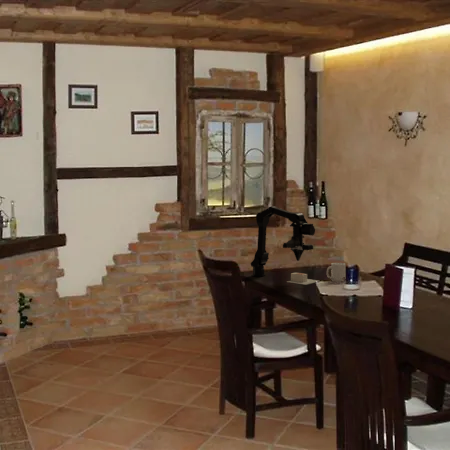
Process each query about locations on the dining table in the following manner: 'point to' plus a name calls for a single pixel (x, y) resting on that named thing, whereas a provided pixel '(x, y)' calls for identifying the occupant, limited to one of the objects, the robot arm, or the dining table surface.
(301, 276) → the block
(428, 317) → the dining table surface
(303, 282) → the mat
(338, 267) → the cup
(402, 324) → the dining table surface
